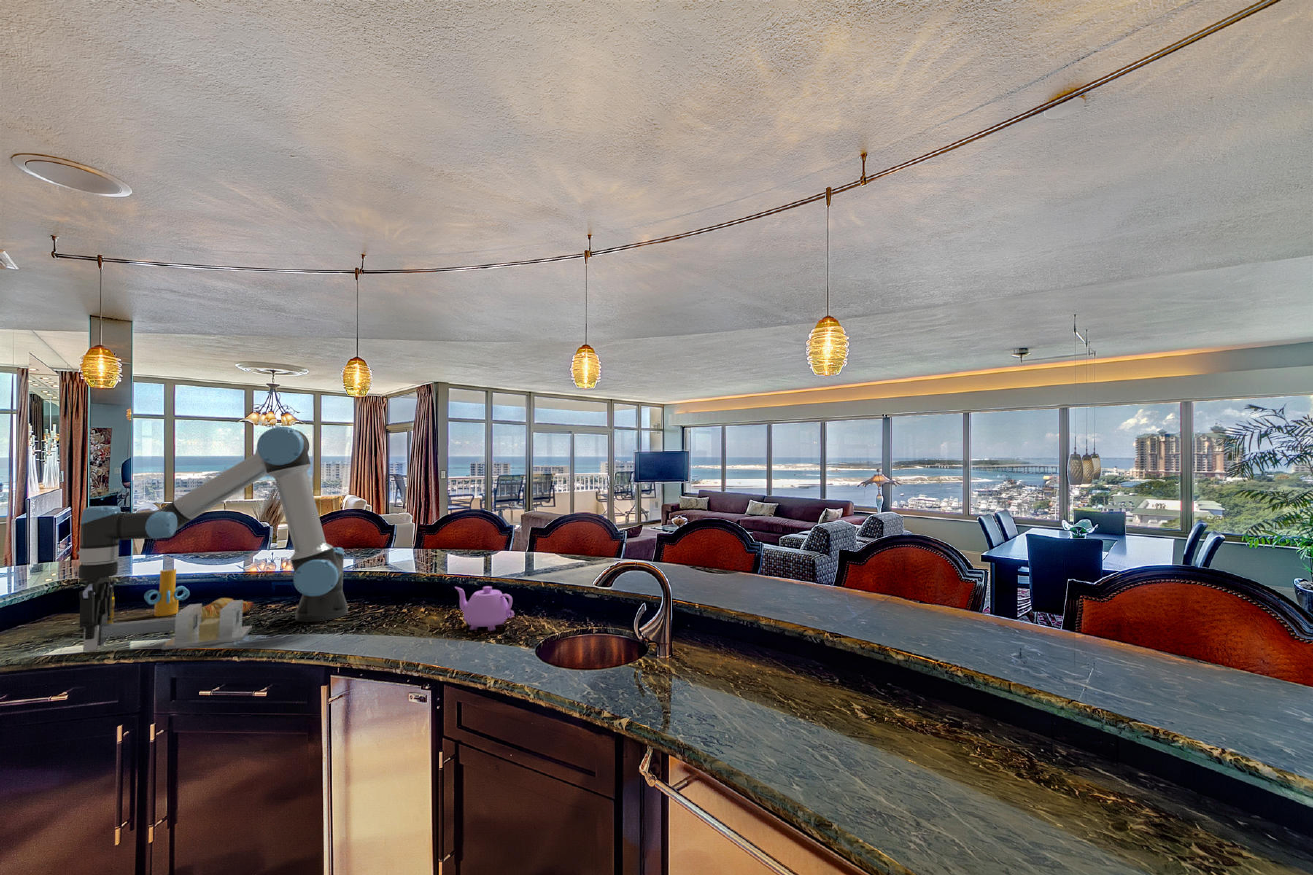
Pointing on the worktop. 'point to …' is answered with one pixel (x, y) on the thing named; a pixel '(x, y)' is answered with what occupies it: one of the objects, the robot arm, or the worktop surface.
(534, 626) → the worktop surface
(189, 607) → the frame
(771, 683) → the worktop surface
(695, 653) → the worktop surface
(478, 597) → the teapot
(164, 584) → the cylinder
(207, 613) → the croissant
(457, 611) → the worktop surface
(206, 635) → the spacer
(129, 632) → the bar
